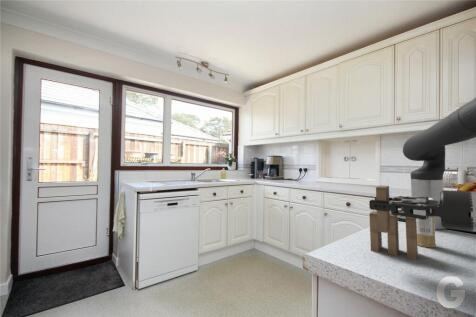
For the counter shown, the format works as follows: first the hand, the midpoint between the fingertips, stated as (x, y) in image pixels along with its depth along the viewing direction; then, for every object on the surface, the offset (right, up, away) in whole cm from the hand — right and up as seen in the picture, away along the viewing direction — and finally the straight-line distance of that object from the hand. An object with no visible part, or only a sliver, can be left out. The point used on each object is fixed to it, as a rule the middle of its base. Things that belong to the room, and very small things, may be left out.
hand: (372, 202), depth 55 cm
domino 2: (+9, -14, +6) cm, 18 cm away
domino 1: (+2, -6, -1) cm, 6 cm away
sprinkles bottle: (+21, -14, +10) cm, 28 cm away
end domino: (+6, -14, +9) cm, 18 cm away
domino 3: (+12, -14, +4) cm, 19 cm away
